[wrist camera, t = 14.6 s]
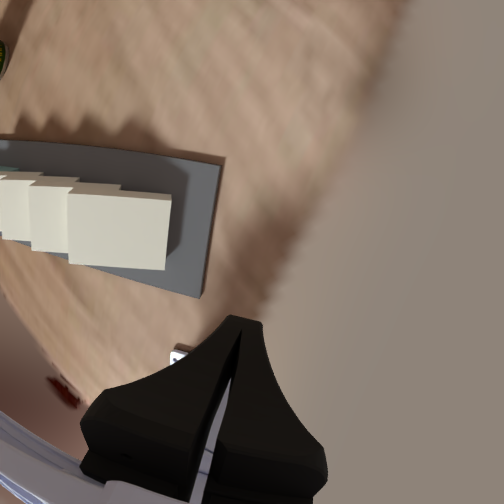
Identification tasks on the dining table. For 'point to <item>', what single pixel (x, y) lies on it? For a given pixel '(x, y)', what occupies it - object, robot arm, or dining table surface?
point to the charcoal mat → (141, 180)
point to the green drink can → (3, 58)
